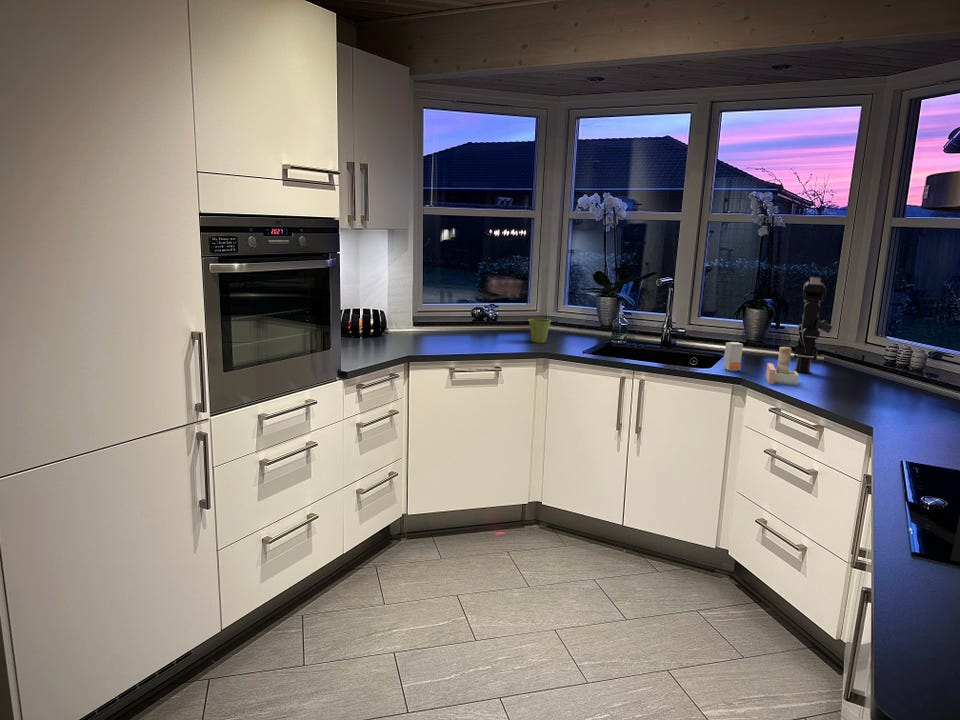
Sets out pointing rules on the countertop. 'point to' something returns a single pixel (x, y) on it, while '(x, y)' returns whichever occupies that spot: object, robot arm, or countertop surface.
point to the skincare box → (732, 356)
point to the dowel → (784, 360)
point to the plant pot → (539, 329)
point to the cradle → (787, 378)
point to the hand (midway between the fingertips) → (805, 350)
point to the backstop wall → (770, 373)
